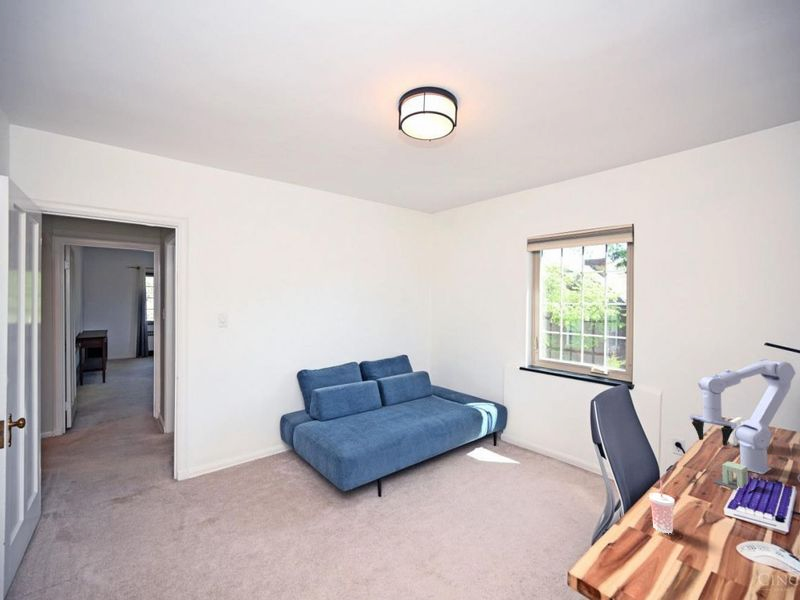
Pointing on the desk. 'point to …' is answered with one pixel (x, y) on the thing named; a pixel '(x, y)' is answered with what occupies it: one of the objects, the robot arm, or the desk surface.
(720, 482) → the felt pad
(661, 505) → the beverage cup
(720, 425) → the robot arm
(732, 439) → the cable organizer
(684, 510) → the desk surface
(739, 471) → the slotted sage cube
